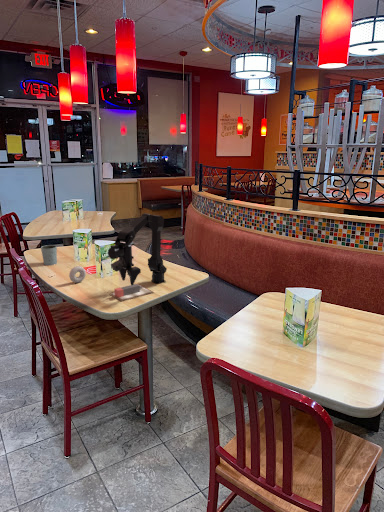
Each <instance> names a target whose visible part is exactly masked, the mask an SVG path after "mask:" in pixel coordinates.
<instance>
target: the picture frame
mask: <svg viewBox="0 0 384 512" xmlns="http://www.w3.org/2000/svg"><path fill="white" fill-rule="evenodd" d="M141 286H142V289H140V292H137V293H133V294H130V295H126V296H122V297H117V296H115V291H114V292H110V293H109V295H110V296H112V297H114V298H115V299H116V300H117V301H119V302H124V301H129V300H132V299H135V298H139V297H144V296H146V295H151V294H154V293H155V292H154V291H152V290H150V289H148V288H147V287H145V286H143V285H141Z"/></svg>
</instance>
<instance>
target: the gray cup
mask: <svg viewBox="0 0 384 512" xmlns="http://www.w3.org/2000/svg"><path fill="white" fill-rule="evenodd" d="M57 248H58V247H57V245H55V244H47V245H41V247H40V250H41V255H42V261H43V265H44V266H54V264H55V265H57V264H58V254H57V253H58V252H57V251H58V250H57Z"/></svg>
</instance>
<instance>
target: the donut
mask: <svg viewBox="0 0 384 512" xmlns="http://www.w3.org/2000/svg"><path fill="white" fill-rule="evenodd" d="M77 273H79V275H78V276H76V274H77ZM68 277H69V279H70V281H71V282H73V283H75V284H76V283H78V284H79V283H81V282H82V281H84V279H85V278H86V269H85V268H84V267H83V266H80V265H79V266H77V265H76V266H74V267H72V268H71V269H70V271H69V275H68Z"/></svg>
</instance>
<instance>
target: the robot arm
mask: <svg viewBox="0 0 384 512" xmlns="http://www.w3.org/2000/svg"><path fill="white" fill-rule="evenodd" d="M164 223H165V219H164V217H163V216H162V215H157V214H151V213H145V212H144V213H142V214H141V215H140V217H139V218H138V219H136V220H135V222H133V223H132V224H131V225H130V226H129V227H126V228H123V229H121V230H120V231H119V232H118V234H117V237H116V239H115V241H114V243H113V244H114V245H110V247H109V248H108V250H107V255H108V257H109V258H110V259H111V260H116V259H118V260H116V261H114V262H113V263H110V266H111V269H112V270H113V271H115V272H119V274H120V277H121V280H122V281H125V280H126V276H128V277H129V281H130V285H133V284H135V282H136V280H137V278H138V275H140V274H141V272H142V271H141V270H142V269H141V268H140V267H138V266H135V264H134V263H133V259H134V255H133V250H132V249H133V248H132V247H133V246H135V243H134V242H133V241H134V239H135V238H136V236H137V233H139V232H140V230H142V229H143V228H144V227H145V226H146V225H147V224H148V225H149V228H150V230H151V256H150V257H149V258H147V266H148V268H149V271H150V272H151V273H152V274H151V280H150V281H151V282H152V283H154V284H156V285H158V284H163V283H165V282H167V281H166V280H165V273H167V267H166V266H165V265H164V259H163V258H162V256H161V240H162V239H161V235H162V234H161V233H162V230H163V228H164V226H165V224H164Z"/></svg>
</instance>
